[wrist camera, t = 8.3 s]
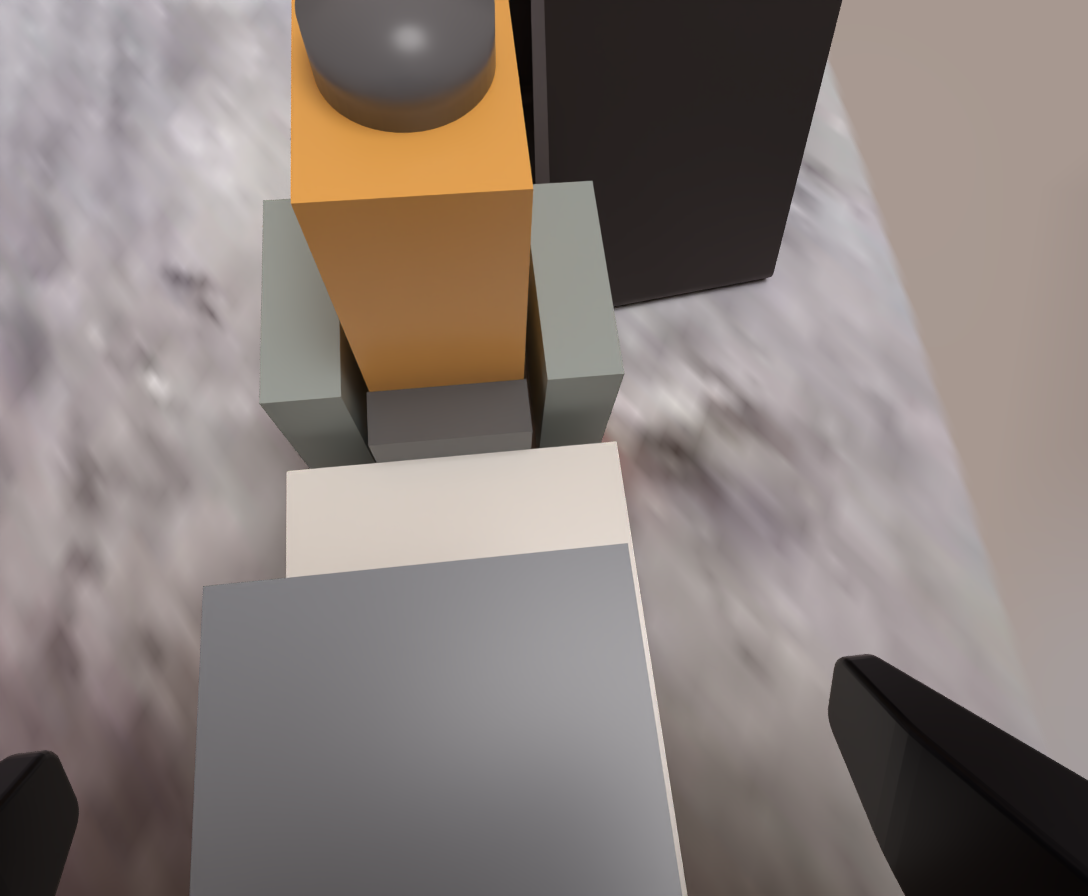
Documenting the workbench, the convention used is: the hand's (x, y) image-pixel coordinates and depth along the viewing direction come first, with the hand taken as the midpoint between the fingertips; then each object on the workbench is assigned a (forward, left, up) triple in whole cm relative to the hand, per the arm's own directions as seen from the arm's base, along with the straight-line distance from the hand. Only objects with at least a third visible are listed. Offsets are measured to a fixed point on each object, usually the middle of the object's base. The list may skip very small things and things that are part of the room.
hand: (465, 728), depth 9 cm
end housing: (+7, 0, -6) cm, 9 cm away
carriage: (+1, 0, -5) cm, 5 cm away
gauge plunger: (+8, 0, -6) cm, 10 cm away
